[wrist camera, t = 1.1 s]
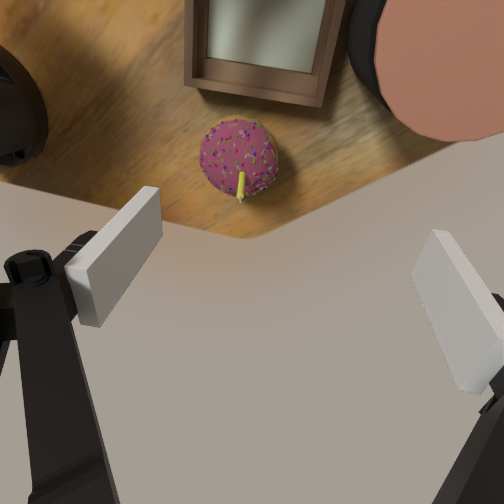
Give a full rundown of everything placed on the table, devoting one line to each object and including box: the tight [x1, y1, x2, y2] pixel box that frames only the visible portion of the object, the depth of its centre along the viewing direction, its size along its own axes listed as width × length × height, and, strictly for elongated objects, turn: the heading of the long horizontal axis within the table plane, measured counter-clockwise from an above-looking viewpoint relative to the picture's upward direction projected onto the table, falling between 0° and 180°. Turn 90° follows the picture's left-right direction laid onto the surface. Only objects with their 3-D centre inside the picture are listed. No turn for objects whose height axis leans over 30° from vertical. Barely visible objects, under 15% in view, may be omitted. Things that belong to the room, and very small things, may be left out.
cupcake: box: [199, 115, 278, 203], centre depth 35 cm, size 9×8×12 cm
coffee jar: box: [347, 0, 504, 142], centre depth 24 cm, size 11×11×18 cm
